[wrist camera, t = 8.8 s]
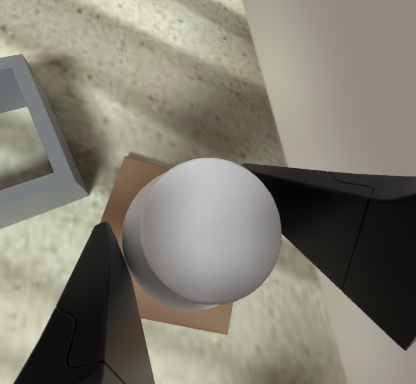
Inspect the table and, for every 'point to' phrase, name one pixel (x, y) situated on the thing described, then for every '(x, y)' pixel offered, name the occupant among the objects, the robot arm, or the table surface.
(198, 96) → the table surface
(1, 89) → the holder box
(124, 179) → the walnut coaster
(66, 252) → the table surface
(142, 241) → the pill bottle
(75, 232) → the table surface
